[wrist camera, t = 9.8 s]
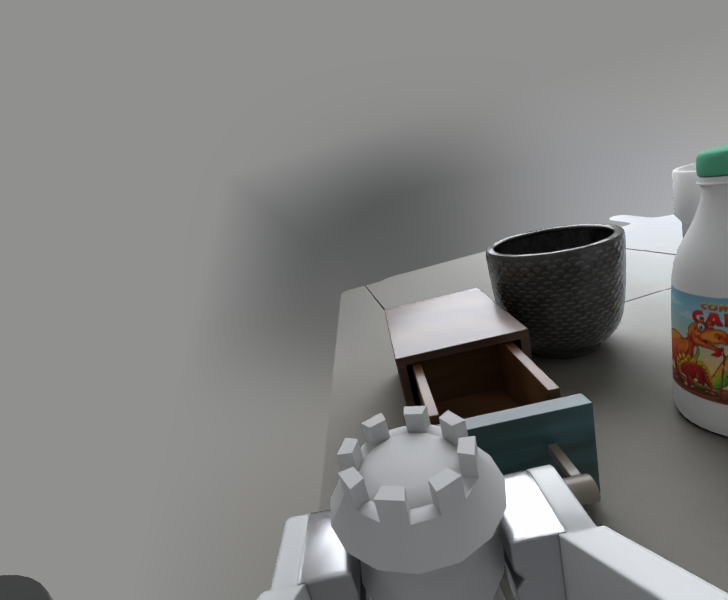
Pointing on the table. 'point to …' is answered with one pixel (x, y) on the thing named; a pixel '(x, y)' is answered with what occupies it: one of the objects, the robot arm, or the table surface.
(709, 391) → the milk bottle
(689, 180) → the cup
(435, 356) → the cabinet
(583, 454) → the drawer
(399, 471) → the rook chess piece
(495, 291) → the planter
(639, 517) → the table surface
